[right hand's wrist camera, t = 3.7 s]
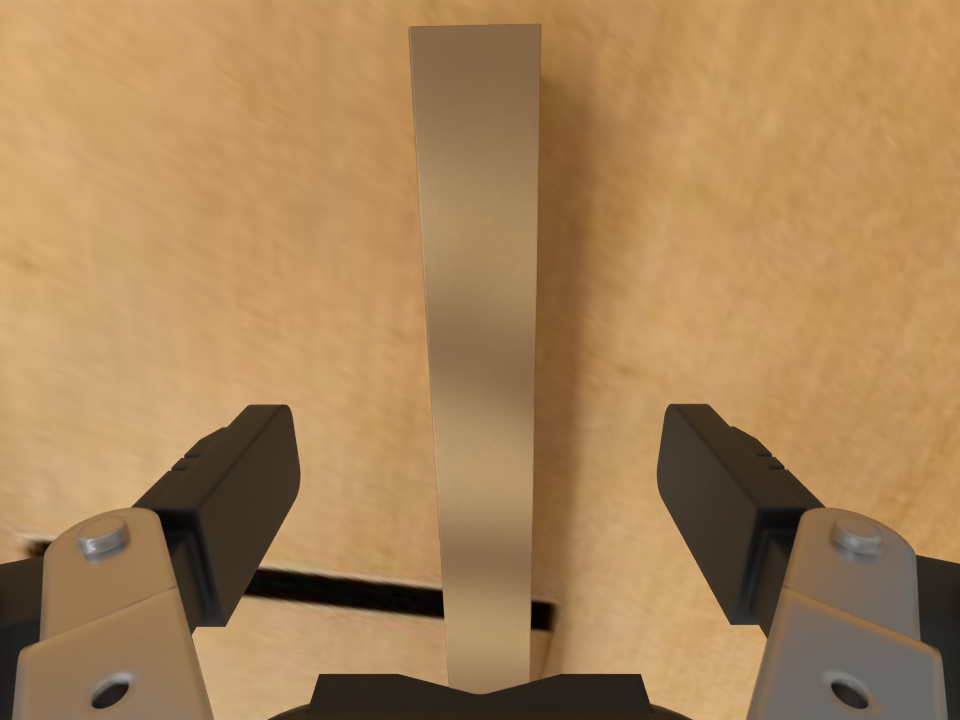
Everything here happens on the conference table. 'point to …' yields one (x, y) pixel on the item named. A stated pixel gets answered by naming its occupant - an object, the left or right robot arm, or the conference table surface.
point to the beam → (481, 330)
